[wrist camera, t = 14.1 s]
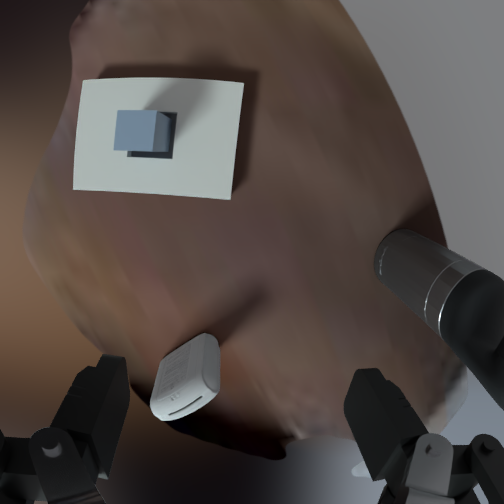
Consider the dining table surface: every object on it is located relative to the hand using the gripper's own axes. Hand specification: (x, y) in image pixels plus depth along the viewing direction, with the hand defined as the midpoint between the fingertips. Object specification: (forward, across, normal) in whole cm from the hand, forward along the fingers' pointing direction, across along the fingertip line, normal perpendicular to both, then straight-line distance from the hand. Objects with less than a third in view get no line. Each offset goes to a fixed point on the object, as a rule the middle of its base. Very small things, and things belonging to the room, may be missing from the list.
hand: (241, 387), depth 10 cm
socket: (+32, +10, -9) cm, 35 cm away
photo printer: (+32, +4, +22) cm, 39 cm away
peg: (+31, +10, -9) cm, 34 cm away
